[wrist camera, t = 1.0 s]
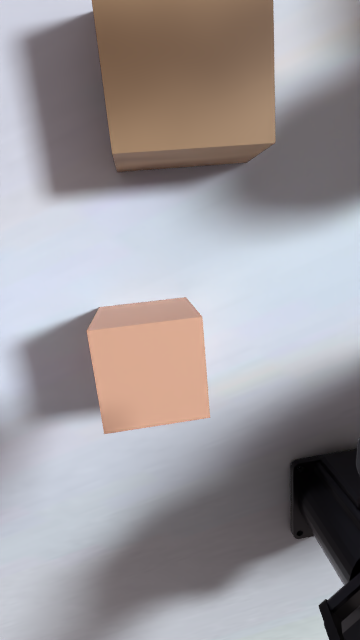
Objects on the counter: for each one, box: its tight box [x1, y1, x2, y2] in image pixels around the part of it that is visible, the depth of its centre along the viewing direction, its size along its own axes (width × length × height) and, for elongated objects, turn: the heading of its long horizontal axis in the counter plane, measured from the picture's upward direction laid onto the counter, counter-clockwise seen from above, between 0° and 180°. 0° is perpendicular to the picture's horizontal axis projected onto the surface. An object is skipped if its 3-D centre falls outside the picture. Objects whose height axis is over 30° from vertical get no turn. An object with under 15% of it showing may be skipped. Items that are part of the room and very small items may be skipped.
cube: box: [87, 297, 210, 434], centre depth 17 cm, size 5×5×5 cm
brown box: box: [92, 0, 275, 172], centre depth 15 cm, size 7×7×4 cm
